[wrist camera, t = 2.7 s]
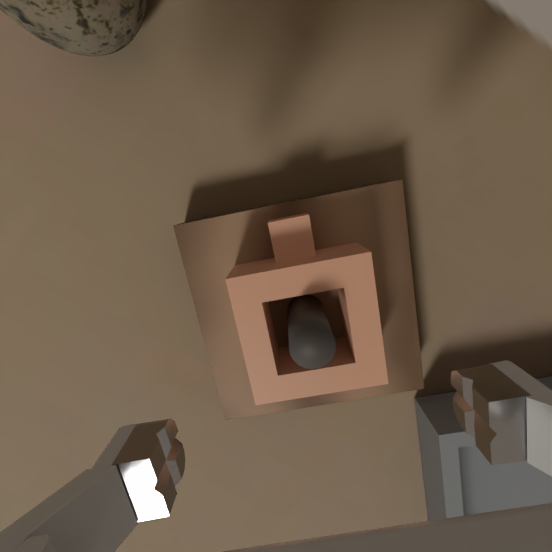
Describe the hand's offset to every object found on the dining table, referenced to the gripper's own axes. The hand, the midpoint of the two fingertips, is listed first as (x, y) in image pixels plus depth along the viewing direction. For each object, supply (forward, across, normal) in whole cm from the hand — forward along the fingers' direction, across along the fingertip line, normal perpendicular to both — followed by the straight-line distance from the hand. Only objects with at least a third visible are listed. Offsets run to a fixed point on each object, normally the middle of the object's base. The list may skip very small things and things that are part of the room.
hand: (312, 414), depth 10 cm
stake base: (+11, 0, 0) cm, 11 cm away
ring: (+9, 0, 0) cm, 9 cm away
